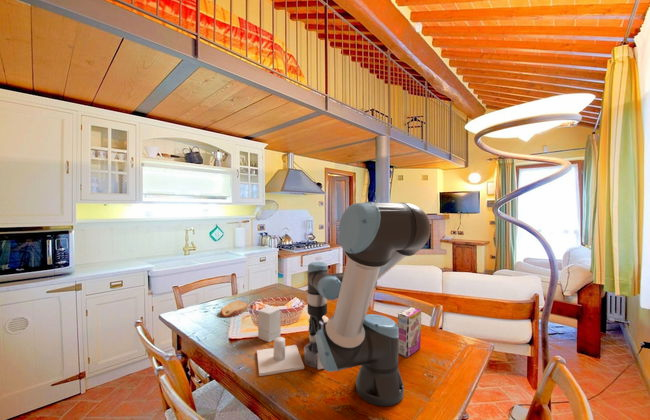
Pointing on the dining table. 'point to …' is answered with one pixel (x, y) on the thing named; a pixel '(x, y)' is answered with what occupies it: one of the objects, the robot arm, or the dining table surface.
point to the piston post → (279, 358)
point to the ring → (311, 354)
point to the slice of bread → (233, 309)
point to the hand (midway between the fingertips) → (317, 359)
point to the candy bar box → (409, 331)
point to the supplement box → (269, 323)
